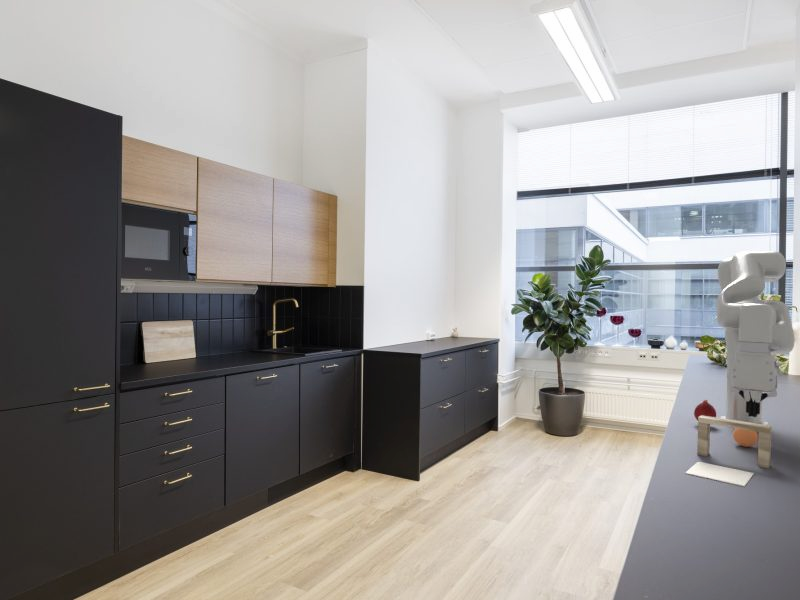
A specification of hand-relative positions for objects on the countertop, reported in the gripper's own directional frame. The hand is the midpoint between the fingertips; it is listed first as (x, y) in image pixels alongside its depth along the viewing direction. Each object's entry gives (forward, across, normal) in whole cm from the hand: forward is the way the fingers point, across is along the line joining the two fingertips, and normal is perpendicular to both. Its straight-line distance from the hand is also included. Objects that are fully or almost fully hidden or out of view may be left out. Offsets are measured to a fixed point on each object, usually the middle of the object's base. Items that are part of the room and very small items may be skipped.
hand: (752, 416), depth 145 cm
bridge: (+8, 0, +24) cm, 25 cm away
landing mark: (+8, 0, +38) cm, 39 cm away
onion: (+6, +13, -9) cm, 17 cm away
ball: (+4, 0, +8) cm, 9 cm away
